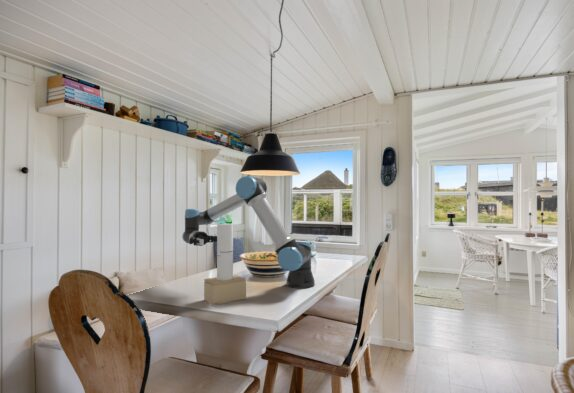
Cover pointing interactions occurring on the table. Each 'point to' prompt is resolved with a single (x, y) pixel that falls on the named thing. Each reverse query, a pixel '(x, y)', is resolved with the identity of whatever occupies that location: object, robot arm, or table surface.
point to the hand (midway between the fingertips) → (216, 241)
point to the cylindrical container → (224, 251)
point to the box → (224, 292)
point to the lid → (218, 282)
